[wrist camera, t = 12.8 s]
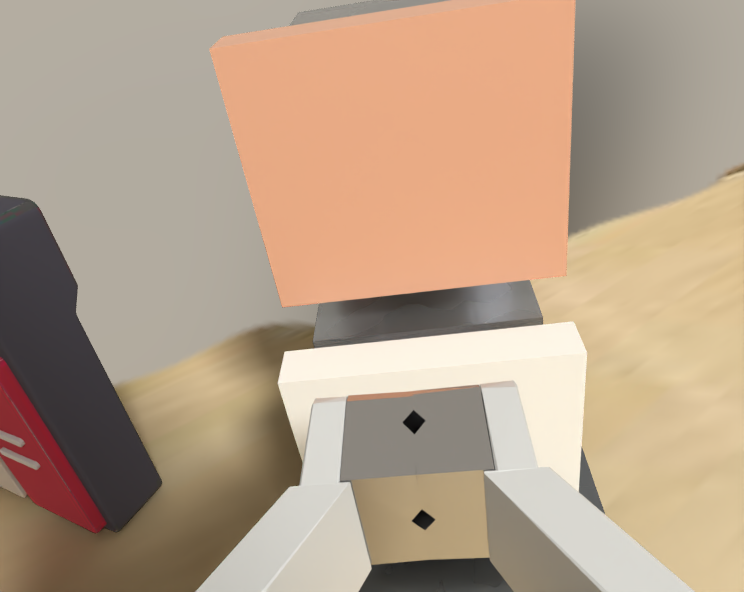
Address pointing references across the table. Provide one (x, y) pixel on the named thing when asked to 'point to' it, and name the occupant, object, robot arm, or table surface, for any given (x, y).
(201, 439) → the table surface
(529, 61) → the orange plunger
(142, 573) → the table surface
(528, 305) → the press rig
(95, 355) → the dark rectangular slab
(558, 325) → the cream stepped block
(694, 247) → the table surface
